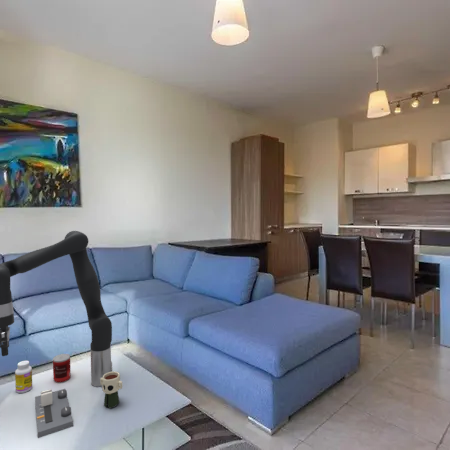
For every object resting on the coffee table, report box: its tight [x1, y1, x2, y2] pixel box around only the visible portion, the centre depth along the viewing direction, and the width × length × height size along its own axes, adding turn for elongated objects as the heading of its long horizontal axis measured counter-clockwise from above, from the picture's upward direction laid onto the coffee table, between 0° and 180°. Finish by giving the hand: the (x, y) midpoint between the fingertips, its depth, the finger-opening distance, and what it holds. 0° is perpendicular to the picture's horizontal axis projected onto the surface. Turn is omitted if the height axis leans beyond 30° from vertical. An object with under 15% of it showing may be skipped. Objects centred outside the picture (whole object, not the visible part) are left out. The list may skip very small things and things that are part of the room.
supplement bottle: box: [14, 360, 33, 394], centre depth 150 cm, size 7×7×13 cm
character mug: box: [100, 370, 123, 409], centre depth 140 cm, size 11×7×13 cm, turn 73°
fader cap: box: [40, 388, 53, 407], centre depth 136 cm, size 4×3×5 cm
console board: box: [34, 388, 74, 438], centre depth 134 cm, size 12×26×4 cm, turn 32°
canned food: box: [52, 353, 72, 384], centre depth 160 cm, size 8×8×11 cm
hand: (5, 351), depth 134 cm, fingers open, 8 cm apart
